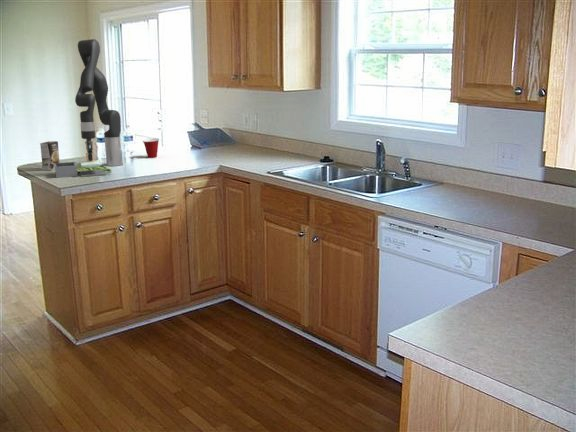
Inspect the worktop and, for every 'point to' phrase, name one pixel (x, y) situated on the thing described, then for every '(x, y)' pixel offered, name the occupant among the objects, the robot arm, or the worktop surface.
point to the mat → (92, 173)
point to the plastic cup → (151, 147)
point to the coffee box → (49, 155)
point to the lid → (90, 162)
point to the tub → (65, 169)
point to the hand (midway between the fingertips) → (90, 160)
